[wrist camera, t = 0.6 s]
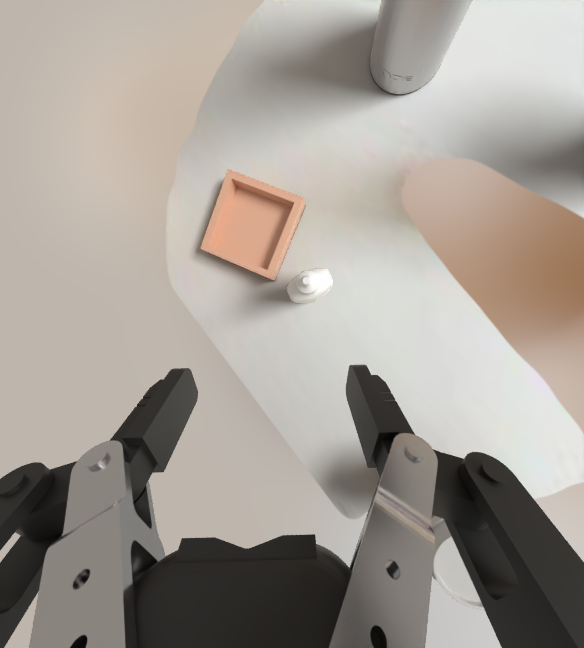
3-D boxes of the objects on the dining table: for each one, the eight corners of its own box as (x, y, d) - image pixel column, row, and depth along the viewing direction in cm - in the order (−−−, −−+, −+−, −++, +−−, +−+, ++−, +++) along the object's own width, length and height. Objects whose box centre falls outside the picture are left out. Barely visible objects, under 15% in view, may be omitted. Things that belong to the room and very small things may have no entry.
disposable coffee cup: (395, 504, 33) (437, 614, 21) (384, 447, 33) (420, 527, 21) (461, 500, 32) (545, 616, 20) (451, 440, 31) (530, 523, 19)
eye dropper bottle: (295, 274, 32) (279, 256, 21) (331, 277, 32) (337, 259, 20) (293, 302, 33) (276, 300, 21) (329, 305, 32) (332, 305, 20)
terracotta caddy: (235, 179, 32) (228, 169, 30) (305, 206, 31) (303, 197, 29) (209, 252, 34) (200, 248, 32) (274, 281, 33) (270, 279, 30)
